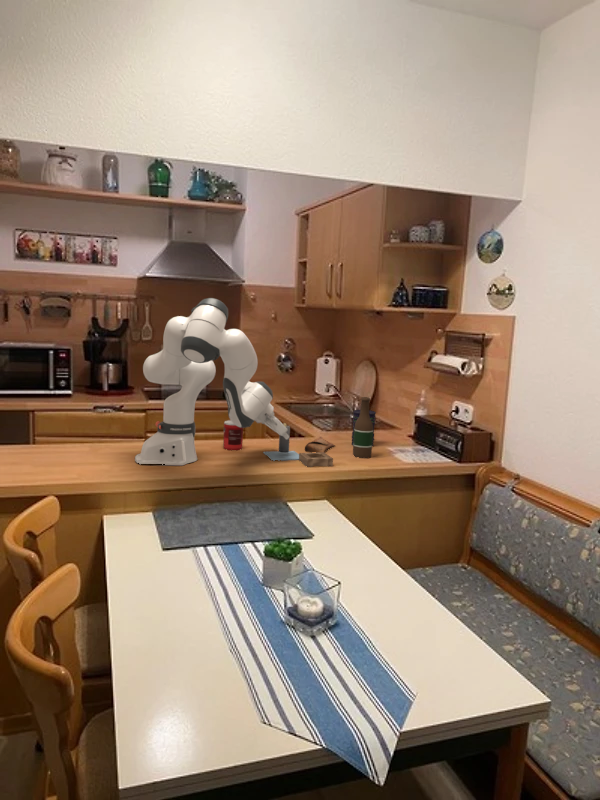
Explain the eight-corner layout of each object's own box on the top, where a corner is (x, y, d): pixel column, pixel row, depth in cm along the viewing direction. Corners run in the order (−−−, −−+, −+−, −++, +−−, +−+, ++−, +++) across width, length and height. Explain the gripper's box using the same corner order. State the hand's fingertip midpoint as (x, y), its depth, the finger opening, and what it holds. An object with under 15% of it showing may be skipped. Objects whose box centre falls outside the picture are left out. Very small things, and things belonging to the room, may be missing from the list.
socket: (307, 467, 225) (307, 459, 225) (298, 460, 235) (299, 452, 234) (332, 466, 228) (333, 458, 228) (323, 459, 238) (323, 452, 237)
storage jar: (377, 447, 266) (379, 413, 264) (357, 447, 262) (359, 413, 260) (367, 442, 275) (369, 409, 273) (347, 442, 272) (349, 409, 269)
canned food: (231, 445, 255) (232, 419, 254) (246, 448, 251) (247, 422, 249) (219, 448, 249) (219, 421, 247) (233, 451, 244) (234, 424, 243)
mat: (271, 460, 232) (271, 459, 232) (263, 452, 245) (263, 451, 244) (304, 459, 236) (304, 458, 236) (294, 452, 249) (294, 450, 248)
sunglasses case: (324, 453, 248) (316, 439, 248) (309, 460, 250) (302, 446, 250) (336, 445, 264) (329, 431, 265) (322, 452, 267) (315, 438, 267)
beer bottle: (368, 459, 242) (372, 399, 239) (350, 457, 245) (353, 397, 241) (373, 455, 249) (377, 397, 246) (355, 453, 252) (358, 395, 249)
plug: (280, 452, 238) (281, 424, 236) (277, 450, 241) (278, 422, 240) (290, 452, 239) (291, 424, 237) (287, 450, 243) (288, 422, 241)
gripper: (275, 410, 226) (299, 436, 230) (261, 402, 245) (284, 426, 249) (263, 422, 225) (287, 448, 229) (250, 413, 244) (273, 437, 249)
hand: (285, 436), depth 239 cm, fingers closed on plug, 4 cm apart
